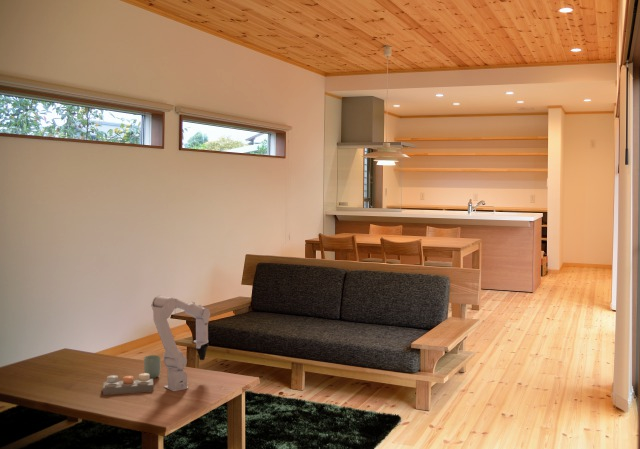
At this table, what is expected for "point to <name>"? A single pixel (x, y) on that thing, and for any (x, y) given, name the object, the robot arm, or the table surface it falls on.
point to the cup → (152, 365)
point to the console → (127, 387)
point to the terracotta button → (128, 379)
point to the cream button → (144, 377)
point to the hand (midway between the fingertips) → (202, 359)
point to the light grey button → (112, 379)
